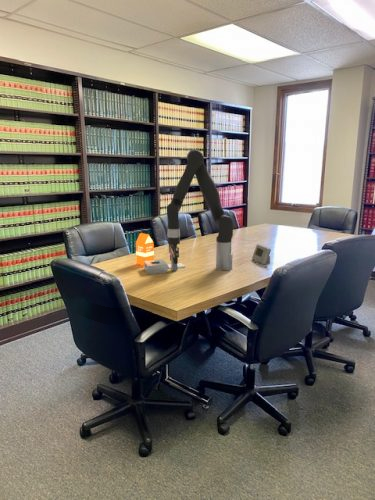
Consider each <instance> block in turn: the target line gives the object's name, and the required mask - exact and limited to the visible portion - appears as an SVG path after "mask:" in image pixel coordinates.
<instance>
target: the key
mask: <svg viewBox="0 0 375 500" xmlns="http://www.w3.org/2000/svg"><path fill="white" fill-rule="evenodd" d="M170 255H171V260H170V262H171V263H170V264H171V269H170V270H171V271H172V272H178V268H177V264H174V256H173V254H172V252H170V253H169V256H170Z"/></svg>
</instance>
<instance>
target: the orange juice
mask: <svg viewBox="0 0 375 500" xmlns="http://www.w3.org/2000/svg"><path fill="white" fill-rule="evenodd" d="M154 250H155V245H154V241H153V239H152V238H151V236H150V234H148V233H143V232H140V233H139V235H138V237H137V239H136V241H135V251H136V252H135V254H136V255H135V256H136V257H135V258H136V265H139V264H140V266H143V265H144V261H152V260H155V256H154V255H155V251H154Z"/></svg>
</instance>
